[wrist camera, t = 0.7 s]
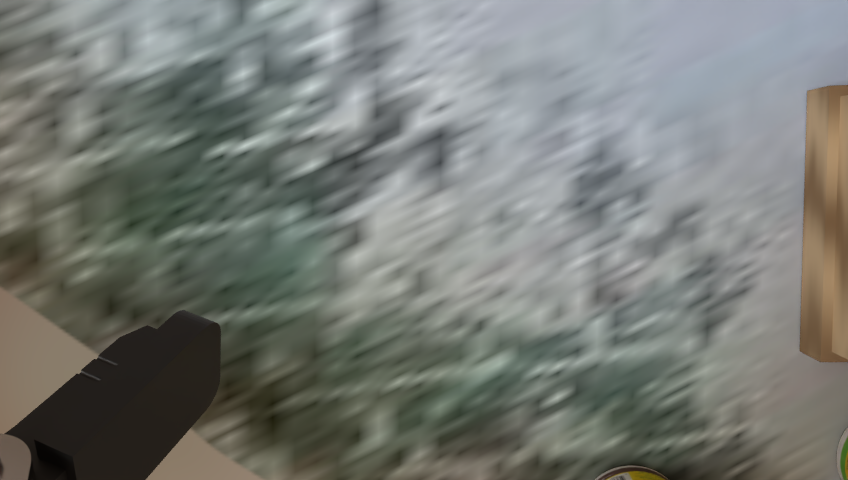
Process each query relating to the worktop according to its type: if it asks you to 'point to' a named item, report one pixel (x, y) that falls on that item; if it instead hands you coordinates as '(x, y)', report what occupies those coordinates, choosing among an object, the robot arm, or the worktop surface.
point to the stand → (825, 227)
